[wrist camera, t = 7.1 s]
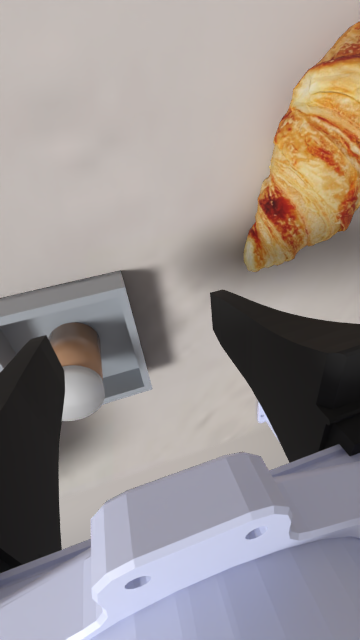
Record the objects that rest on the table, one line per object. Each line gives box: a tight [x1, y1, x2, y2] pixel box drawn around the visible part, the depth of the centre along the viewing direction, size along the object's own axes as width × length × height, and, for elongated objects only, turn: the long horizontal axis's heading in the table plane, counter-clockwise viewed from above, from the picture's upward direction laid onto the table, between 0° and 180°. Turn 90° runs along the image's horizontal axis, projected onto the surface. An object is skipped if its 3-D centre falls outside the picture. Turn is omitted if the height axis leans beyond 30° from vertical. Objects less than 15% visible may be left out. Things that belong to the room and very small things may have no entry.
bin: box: [0, 271, 152, 405], centre depth 22 cm, size 10×10×3 cm
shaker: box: [48, 322, 105, 421], centre depth 20 cm, size 4×4×6 cm
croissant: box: [244, 22, 360, 272], centre depth 18 cm, size 21×10×8 cm, turn 148°
